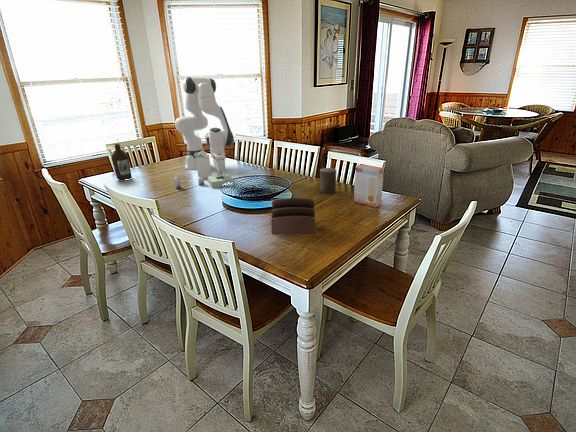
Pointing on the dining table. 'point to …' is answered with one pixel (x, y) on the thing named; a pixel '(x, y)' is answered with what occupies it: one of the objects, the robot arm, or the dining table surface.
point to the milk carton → (203, 164)
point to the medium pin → (177, 182)
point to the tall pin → (218, 175)
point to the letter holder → (293, 216)
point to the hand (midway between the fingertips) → (220, 175)
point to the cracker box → (368, 185)
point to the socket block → (219, 180)
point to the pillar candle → (327, 180)
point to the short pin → (201, 181)
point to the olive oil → (121, 163)
